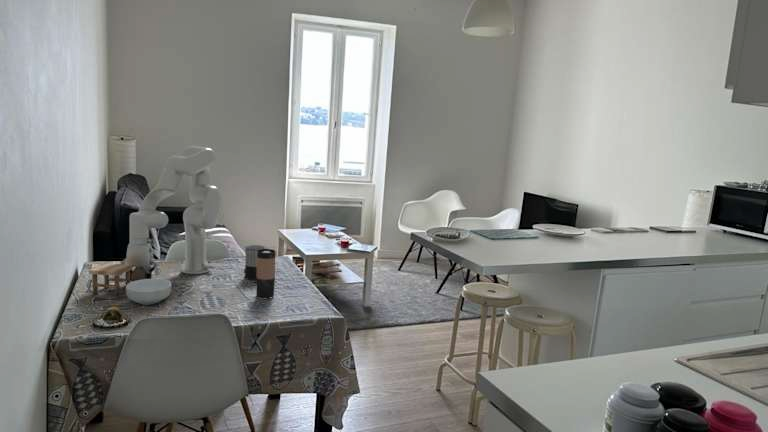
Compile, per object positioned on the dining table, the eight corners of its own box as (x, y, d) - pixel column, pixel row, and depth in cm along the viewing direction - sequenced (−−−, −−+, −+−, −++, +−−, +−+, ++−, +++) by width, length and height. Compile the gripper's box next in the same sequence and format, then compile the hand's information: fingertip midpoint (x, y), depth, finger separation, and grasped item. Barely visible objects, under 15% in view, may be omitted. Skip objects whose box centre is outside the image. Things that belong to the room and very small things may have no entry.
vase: (151, 283, 238) (151, 263, 236) (143, 287, 231) (142, 267, 230) (136, 281, 238) (136, 262, 237) (127, 286, 232) (127, 266, 230)
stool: (133, 288, 229) (133, 264, 227) (119, 297, 217) (118, 272, 215) (105, 286, 229) (104, 262, 227) (89, 295, 217) (88, 270, 215)
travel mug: (277, 295, 232) (279, 250, 229) (268, 300, 225) (269, 254, 222) (262, 292, 234) (263, 248, 231) (252, 297, 227) (253, 251, 224)
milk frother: (254, 281, 250) (254, 250, 248) (230, 274, 258) (230, 244, 256) (275, 275, 262) (276, 245, 260) (251, 269, 270) (252, 240, 268)
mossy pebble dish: (85, 328, 186) (84, 307, 184) (108, 316, 197) (107, 297, 196) (116, 332, 184) (116, 311, 182) (137, 320, 195) (137, 300, 194)
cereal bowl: (126, 296, 219) (126, 279, 218) (170, 293, 226) (170, 277, 225) (125, 310, 204) (125, 292, 203) (172, 306, 211) (172, 289, 210)
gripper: (163, 240, 235) (163, 279, 238) (123, 238, 235) (124, 277, 238) (155, 244, 228) (155, 284, 231) (114, 241, 228) (115, 282, 231)
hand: (139, 280), depth 234 cm, fingers closed on vase, 7 cm apart
